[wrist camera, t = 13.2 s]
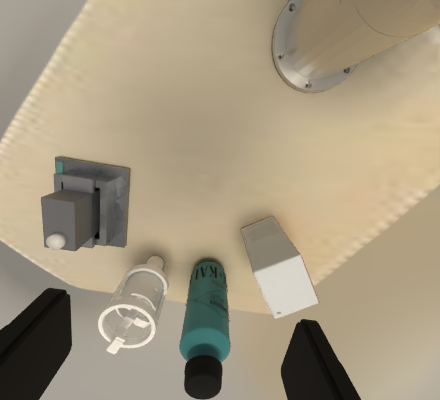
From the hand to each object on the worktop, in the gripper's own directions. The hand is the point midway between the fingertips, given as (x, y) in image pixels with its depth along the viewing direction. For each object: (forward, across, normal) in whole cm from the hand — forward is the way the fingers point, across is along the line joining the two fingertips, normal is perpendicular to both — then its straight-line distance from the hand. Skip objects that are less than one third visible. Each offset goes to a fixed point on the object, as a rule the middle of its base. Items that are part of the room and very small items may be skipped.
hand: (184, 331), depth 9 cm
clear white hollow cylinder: (+28, +7, +17) cm, 34 cm away
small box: (+28, -12, +9) cm, 32 cm away
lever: (+27, +18, +7) cm, 33 cm away
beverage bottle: (+28, -3, +17) cm, 33 cm away
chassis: (+28, +18, +7) cm, 34 cm away
